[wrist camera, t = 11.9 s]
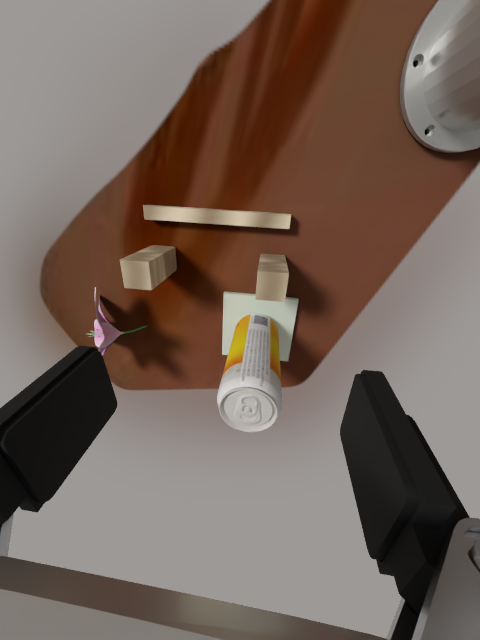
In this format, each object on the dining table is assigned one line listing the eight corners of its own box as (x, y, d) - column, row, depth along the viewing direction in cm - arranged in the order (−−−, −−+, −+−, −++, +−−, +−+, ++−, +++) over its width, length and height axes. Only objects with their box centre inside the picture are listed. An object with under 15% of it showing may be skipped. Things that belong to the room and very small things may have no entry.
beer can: (234, 346, 37) (214, 430, 24) (236, 309, 35) (215, 381, 21) (275, 350, 37) (277, 439, 24) (280, 313, 34) (287, 389, 21)
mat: (298, 298, 34) (298, 299, 33) (287, 359, 38) (288, 361, 38) (224, 291, 34) (223, 293, 34) (222, 352, 39) (222, 354, 38)
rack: (290, 213, 29) (296, 220, 22) (281, 278, 33) (284, 302, 26) (148, 204, 30) (111, 208, 23) (155, 267, 34) (124, 287, 27)
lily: (130, 265, 35) (52, 280, 28) (177, 333, 34) (108, 366, 27) (112, 310, 43) (48, 330, 36) (149, 366, 42) (90, 398, 35)
